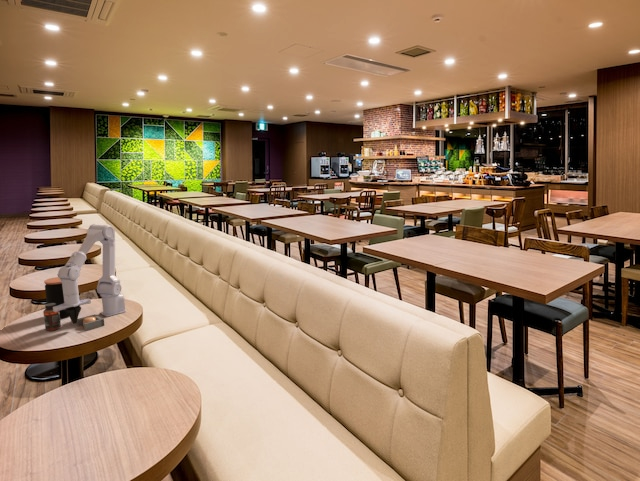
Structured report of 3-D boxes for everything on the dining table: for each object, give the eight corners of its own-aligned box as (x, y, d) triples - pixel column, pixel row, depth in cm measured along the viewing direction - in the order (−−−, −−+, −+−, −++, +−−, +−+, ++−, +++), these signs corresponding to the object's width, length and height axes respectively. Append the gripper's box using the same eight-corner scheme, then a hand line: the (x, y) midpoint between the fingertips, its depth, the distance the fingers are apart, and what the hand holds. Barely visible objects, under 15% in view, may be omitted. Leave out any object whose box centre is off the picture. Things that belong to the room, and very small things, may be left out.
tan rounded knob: (93, 323, 193) (92, 315, 193) (98, 325, 190) (97, 318, 189) (81, 326, 189) (81, 318, 189) (86, 329, 186) (85, 321, 186)
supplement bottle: (64, 326, 189) (61, 302, 187) (54, 331, 183) (52, 306, 181) (52, 325, 190) (49, 301, 188) (42, 330, 184) (39, 306, 182)
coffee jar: (79, 312, 207) (75, 277, 203) (62, 320, 196) (58, 283, 193) (60, 311, 208) (56, 276, 205) (42, 318, 198) (38, 282, 195)
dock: (95, 320, 196) (94, 314, 196) (104, 325, 190) (103, 319, 190) (77, 325, 190) (76, 319, 189) (85, 330, 184) (85, 324, 184)
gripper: (56, 299, 174) (59, 330, 177) (92, 291, 185) (95, 320, 188) (49, 295, 178) (53, 326, 181) (85, 288, 189) (88, 316, 192)
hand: (74, 322), depth 185 cm, fingers closed
